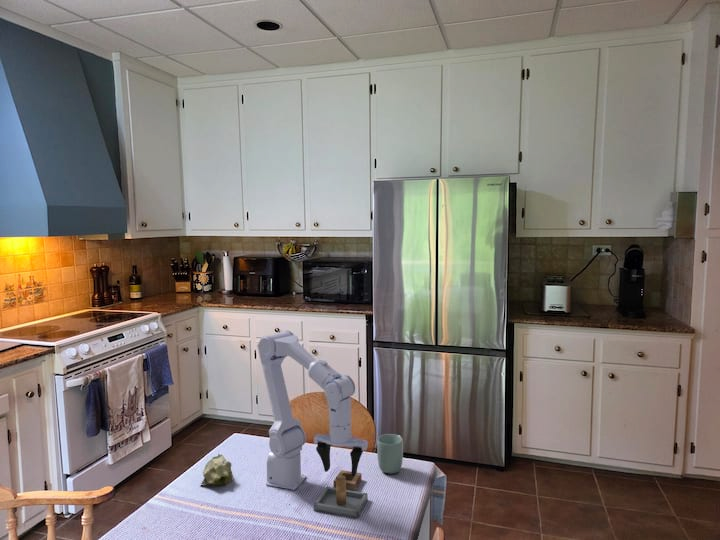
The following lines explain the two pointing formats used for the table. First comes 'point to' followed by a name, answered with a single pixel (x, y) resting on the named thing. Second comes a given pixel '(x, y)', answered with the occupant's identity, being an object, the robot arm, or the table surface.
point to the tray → (350, 509)
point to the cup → (390, 453)
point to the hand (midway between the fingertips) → (340, 472)
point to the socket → (354, 479)
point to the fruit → (217, 471)
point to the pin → (341, 490)
